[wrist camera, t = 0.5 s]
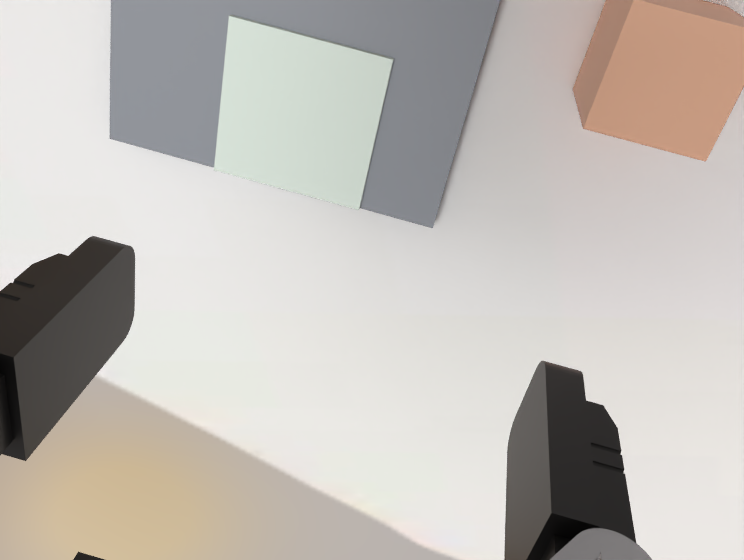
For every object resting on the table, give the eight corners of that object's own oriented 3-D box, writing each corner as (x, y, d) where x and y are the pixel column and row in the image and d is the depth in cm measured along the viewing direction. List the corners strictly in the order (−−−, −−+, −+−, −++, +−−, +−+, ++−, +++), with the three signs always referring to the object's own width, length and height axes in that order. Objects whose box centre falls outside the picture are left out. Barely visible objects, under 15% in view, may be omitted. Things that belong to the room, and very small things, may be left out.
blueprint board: (122, -112, 32) (108, -112, 31) (503, -13, 31) (502, -9, 30) (118, 132, 38) (106, 140, 37) (434, 219, 37) (432, 230, 36)
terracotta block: (614, -23, 30) (634, -1, 25) (727, 6, 30) (770, 34, 25) (572, 88, 33) (583, 128, 28) (676, 116, 33) (705, 161, 28)
